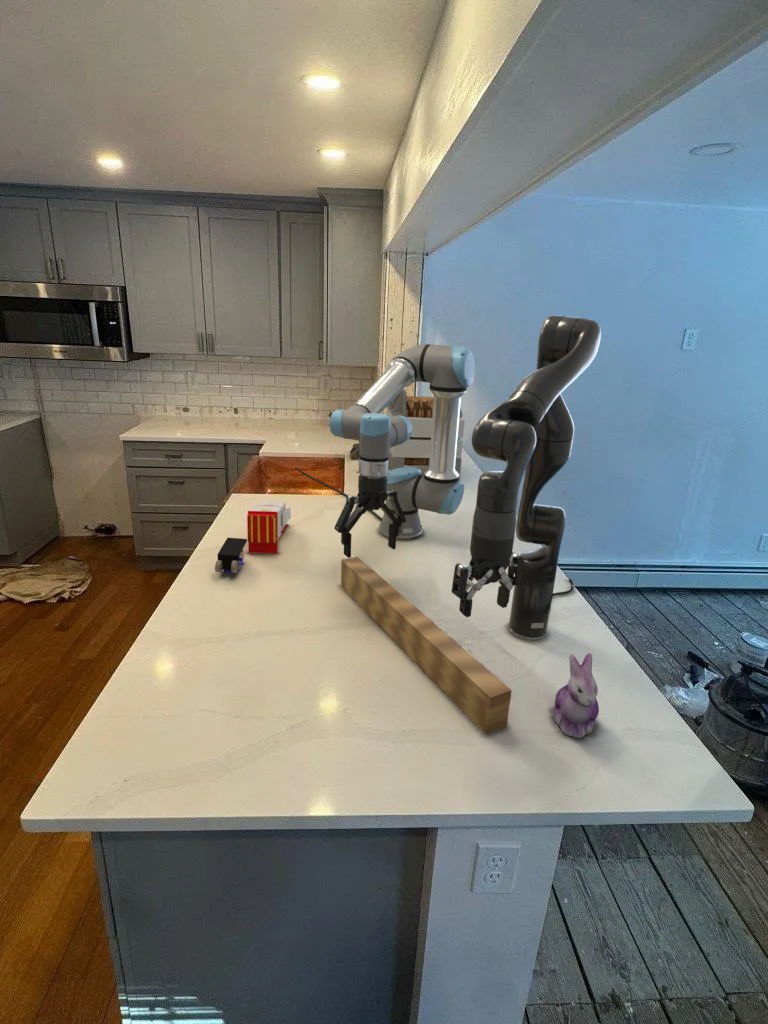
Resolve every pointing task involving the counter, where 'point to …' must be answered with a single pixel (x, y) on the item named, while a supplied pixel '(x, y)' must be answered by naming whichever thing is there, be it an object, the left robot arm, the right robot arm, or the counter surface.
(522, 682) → the counter surface
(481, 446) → the right robot arm
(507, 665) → the counter surface
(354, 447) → the fossil
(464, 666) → the bar
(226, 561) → the figurine character
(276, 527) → the toy
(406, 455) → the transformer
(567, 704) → the figurine
